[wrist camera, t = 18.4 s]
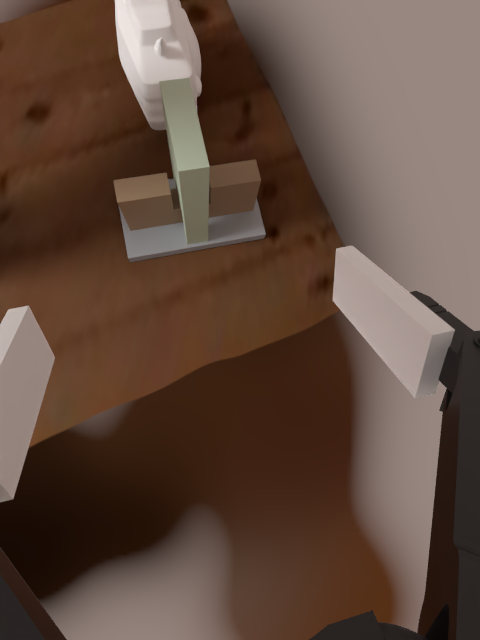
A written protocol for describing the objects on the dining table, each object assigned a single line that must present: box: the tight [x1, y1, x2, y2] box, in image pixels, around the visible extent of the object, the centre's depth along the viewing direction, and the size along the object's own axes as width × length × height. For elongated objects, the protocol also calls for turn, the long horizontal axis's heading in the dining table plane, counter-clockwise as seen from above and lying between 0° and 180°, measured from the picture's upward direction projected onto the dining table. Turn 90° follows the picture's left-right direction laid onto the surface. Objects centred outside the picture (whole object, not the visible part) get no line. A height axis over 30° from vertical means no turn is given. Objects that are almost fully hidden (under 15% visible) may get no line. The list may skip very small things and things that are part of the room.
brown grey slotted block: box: [113, 159, 266, 262], centre depth 50 cm, size 20×11×10 cm, turn 103°
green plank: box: [159, 78, 210, 245], centre depth 44 cm, size 3×10×18 cm, turn 13°
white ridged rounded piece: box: [115, 0, 202, 130], centre depth 50 cm, size 11×18×16 cm, turn 16°
